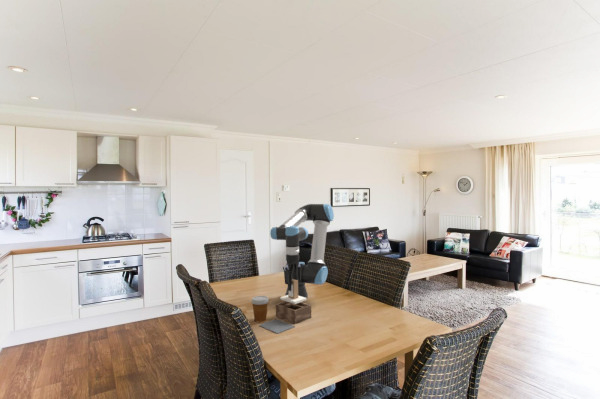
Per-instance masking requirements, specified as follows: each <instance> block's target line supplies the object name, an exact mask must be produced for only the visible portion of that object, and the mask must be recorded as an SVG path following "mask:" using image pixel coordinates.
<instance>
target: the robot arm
mask: <svg viewBox="0 0 600 399" xmlns="http://www.w3.org/2000/svg"><path fill="white" fill-rule="evenodd" d="M306 221H307V222H308V221H309V222H310V221H312V223H313V224H314V228H313V234H312V235H313V236H312V243H311V252H310V253H311V254H310V259H309V261H307V264H305V262H304V261H300V254H299V253H300V241H304V240H306V239H307V238H308V237H309V231H308V229H307V228H306V227H303V226H301V227H299V226H300V225H301V224H302V223H305V222H306ZM333 221H334V210H333V207H332V205H331V204H328V203H308V204H306V205H303V206H301V207H299V208H297V210H295V211H294V214H292V215H291V216H290V217H289V218H288V219H287V220H286V221H284V222H283V223H282V224H281V225H279V226H275V227H272V228H271V229H270V232H269V235H270V237H271V239H272V240H276V241H285V260H286V264H285V266H283V267H282V270H283V276H284V285H287V287H286V292H285V293H284V296H286V295H288V291H289V296H291V297H293V285H292V279H295V280H298V296H302V297H305V298H307V299H308V296H309V294H308V291H307V288H306V284H313V285H317V286H318V285H324V284H325V283H326V280H327V279H328V278H327V277H328V274H329V270H328V266H326V263H325V261H324V260H325V259H324V258H325V252H326V251H325V249H326V240H327V230H328V227H329V225H330V223H331V222H333Z"/></svg>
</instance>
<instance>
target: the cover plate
mask: <svg viewBox="0 0 600 399" xmlns="http://www.w3.org/2000/svg"><path fill="white" fill-rule="evenodd" d="M292 285H293V297H291V296H289V291H288V295H286V296H285V295H283V296H281V297H280V300H281V301H283V302H285V301H287V302H290V303H293V304H297V303H300V302H303V303H304V302H306V301H307V300H308V298H305V297H302V296H298V280H295V279H292Z"/></svg>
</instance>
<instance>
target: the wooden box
mask: <svg viewBox="0 0 600 399" xmlns="http://www.w3.org/2000/svg"><path fill="white" fill-rule="evenodd" d="M275 317H276V318H277V319H280V320H281V319H282V321H285V322H289V323H290V324H291V323H292V324H294V325H296V324H299V323H301V322H303V321H306V320H309V319H311V318H312V305H311V304H309V303H305V302H304V301H303V302H300V303H297V304H293V303H290V302H287V301H282V302H279V303H275Z"/></svg>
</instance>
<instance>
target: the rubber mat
mask: <svg viewBox="0 0 600 399" xmlns="http://www.w3.org/2000/svg"><path fill="white" fill-rule="evenodd" d="M258 326H259V327H261V328H263V329H266V330H268V331H270V332H272V333H275V334H277V335H279V334H281V333H284V332H286V331H289V330H291V329H293V328H296V326H295V324H294V325H293V324H291V323H288V322H287V321H284V320H281V319H279V318H275V319H272V320H268V321H266V322H264V323H261V324H259V325H258Z"/></svg>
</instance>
